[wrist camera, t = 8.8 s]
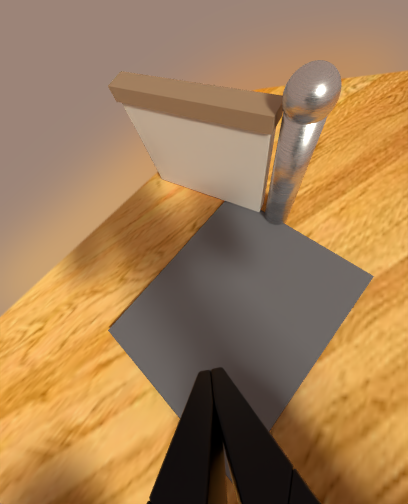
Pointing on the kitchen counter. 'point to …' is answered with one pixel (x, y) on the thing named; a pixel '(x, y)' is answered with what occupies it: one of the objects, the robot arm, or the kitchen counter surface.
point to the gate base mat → (240, 311)
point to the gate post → (300, 132)
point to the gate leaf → (204, 134)
